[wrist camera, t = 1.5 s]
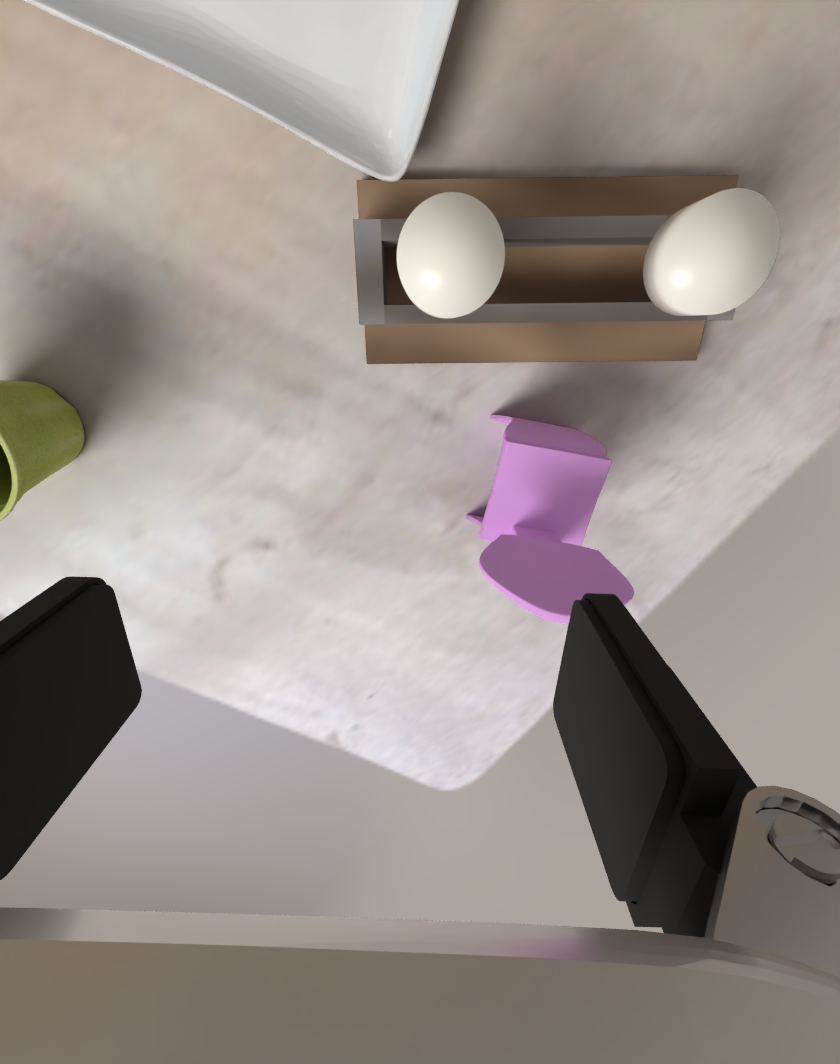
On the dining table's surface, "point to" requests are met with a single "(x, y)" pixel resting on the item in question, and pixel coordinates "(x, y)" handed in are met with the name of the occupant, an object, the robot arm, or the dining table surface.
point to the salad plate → (297, 62)
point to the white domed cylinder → (712, 254)
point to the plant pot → (33, 438)
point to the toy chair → (546, 520)
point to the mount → (535, 272)
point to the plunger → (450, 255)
